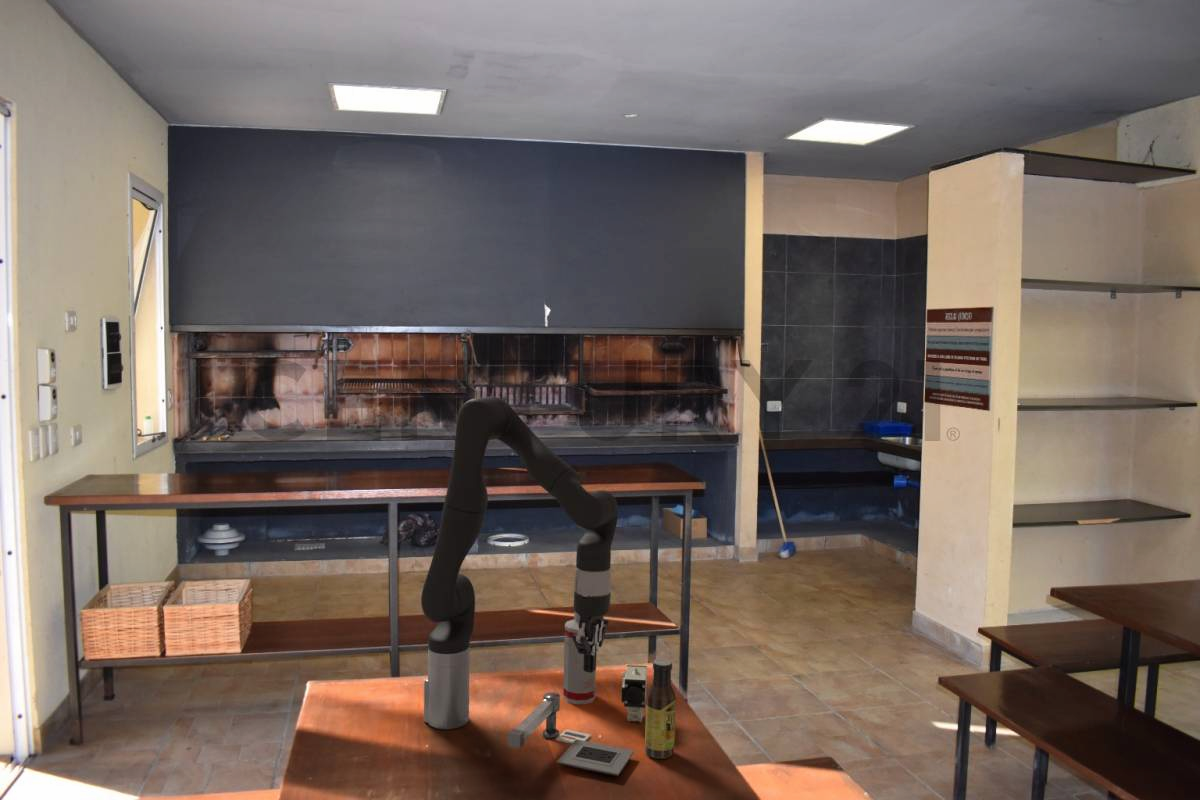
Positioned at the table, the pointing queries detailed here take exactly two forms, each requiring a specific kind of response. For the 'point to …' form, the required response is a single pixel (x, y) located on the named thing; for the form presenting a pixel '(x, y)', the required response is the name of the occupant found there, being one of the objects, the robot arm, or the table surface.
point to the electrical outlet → (595, 757)
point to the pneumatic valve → (634, 691)
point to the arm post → (551, 727)
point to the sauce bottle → (660, 712)
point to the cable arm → (534, 720)
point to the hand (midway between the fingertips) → (589, 670)
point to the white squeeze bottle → (576, 669)
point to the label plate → (572, 736)
